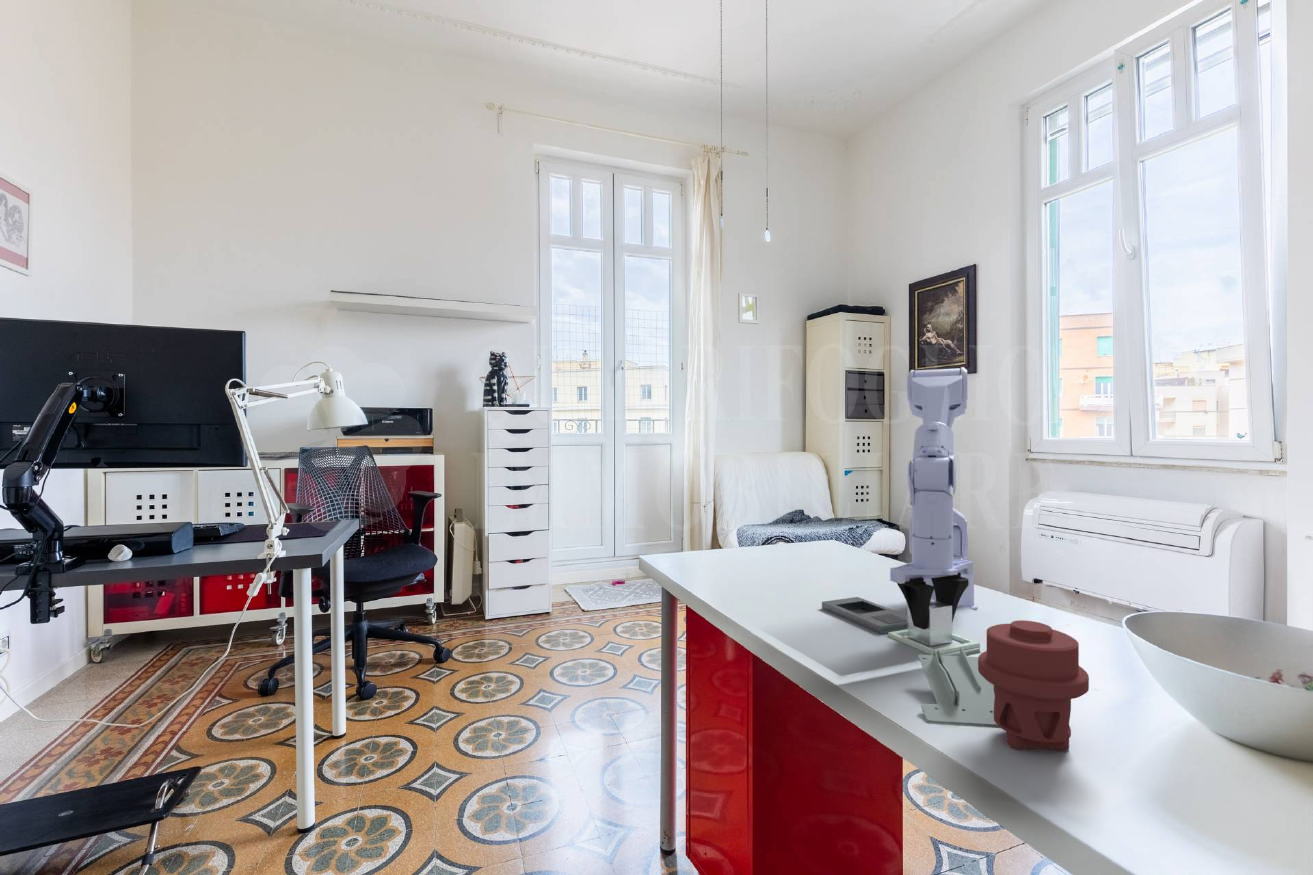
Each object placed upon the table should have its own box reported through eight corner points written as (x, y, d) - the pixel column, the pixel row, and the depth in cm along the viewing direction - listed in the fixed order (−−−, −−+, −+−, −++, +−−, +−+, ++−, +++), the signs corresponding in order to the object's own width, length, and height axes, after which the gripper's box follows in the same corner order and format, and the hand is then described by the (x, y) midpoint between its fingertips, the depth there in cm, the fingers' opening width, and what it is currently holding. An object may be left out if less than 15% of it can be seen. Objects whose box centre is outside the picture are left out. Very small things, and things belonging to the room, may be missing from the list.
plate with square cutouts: (857, 608, 113) (857, 596, 113) (920, 633, 99) (920, 619, 99) (821, 613, 110) (821, 601, 110) (881, 640, 96) (880, 626, 96)
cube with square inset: (929, 633, 96) (929, 598, 96) (952, 641, 92) (951, 605, 92) (907, 637, 94) (907, 601, 94) (930, 646, 90) (929, 608, 90)
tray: (932, 634, 98) (931, 625, 98) (980, 653, 90) (980, 642, 90) (888, 641, 95) (888, 632, 95) (933, 662, 87) (933, 651, 87)
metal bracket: (901, 638, 81) (1023, 643, 79) (898, 674, 83) (1017, 680, 80) (931, 716, 67) (1079, 725, 65) (927, 758, 69) (1072, 769, 67)
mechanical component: (1111, 753, 62) (1046, 776, 58) (1019, 711, 71) (957, 729, 67) (1111, 633, 62) (1046, 648, 58) (1018, 607, 71) (957, 618, 67)
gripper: (915, 544, 86) (915, 639, 86) (990, 536, 91) (990, 626, 91) (879, 536, 92) (880, 625, 93) (951, 529, 98) (952, 613, 98)
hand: (932, 625), depth 92 cm, fingers closed on cube with square inset, 4 cm apart
